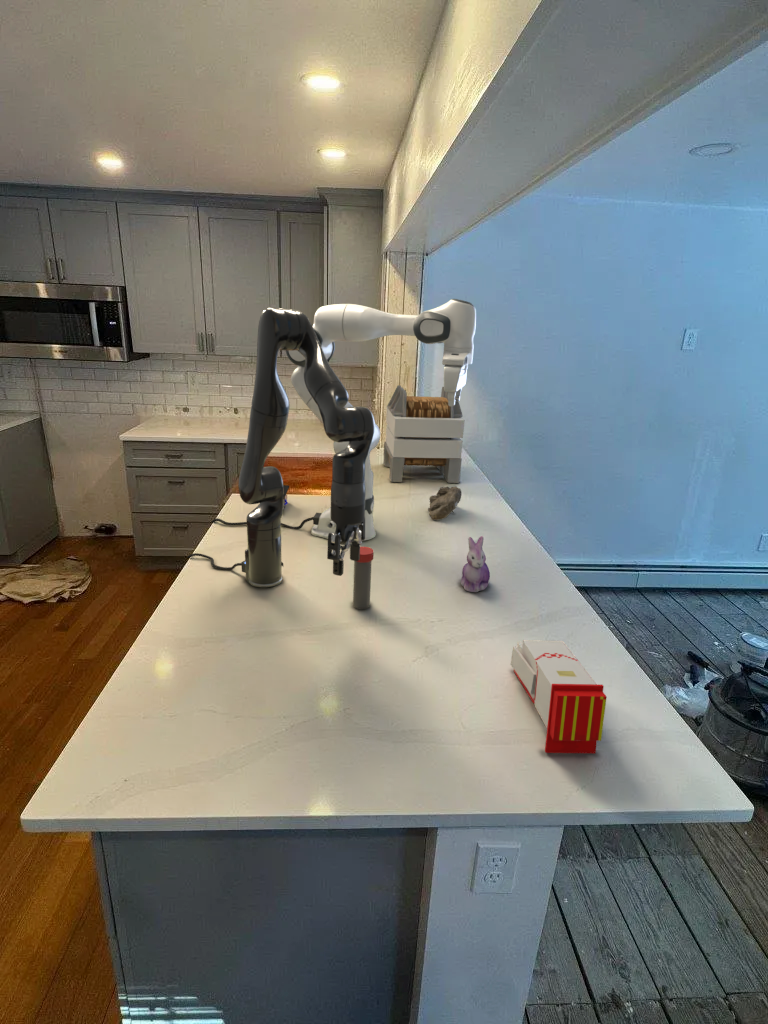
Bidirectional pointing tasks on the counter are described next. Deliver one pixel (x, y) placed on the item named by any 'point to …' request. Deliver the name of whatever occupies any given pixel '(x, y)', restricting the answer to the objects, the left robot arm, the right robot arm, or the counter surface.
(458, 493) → the fossil
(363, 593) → the cylinder
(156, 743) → the counter surface
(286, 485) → the figurine character
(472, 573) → the figurine
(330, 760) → the counter surface
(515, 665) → the toy
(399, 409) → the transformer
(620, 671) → the counter surface
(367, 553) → the lid
